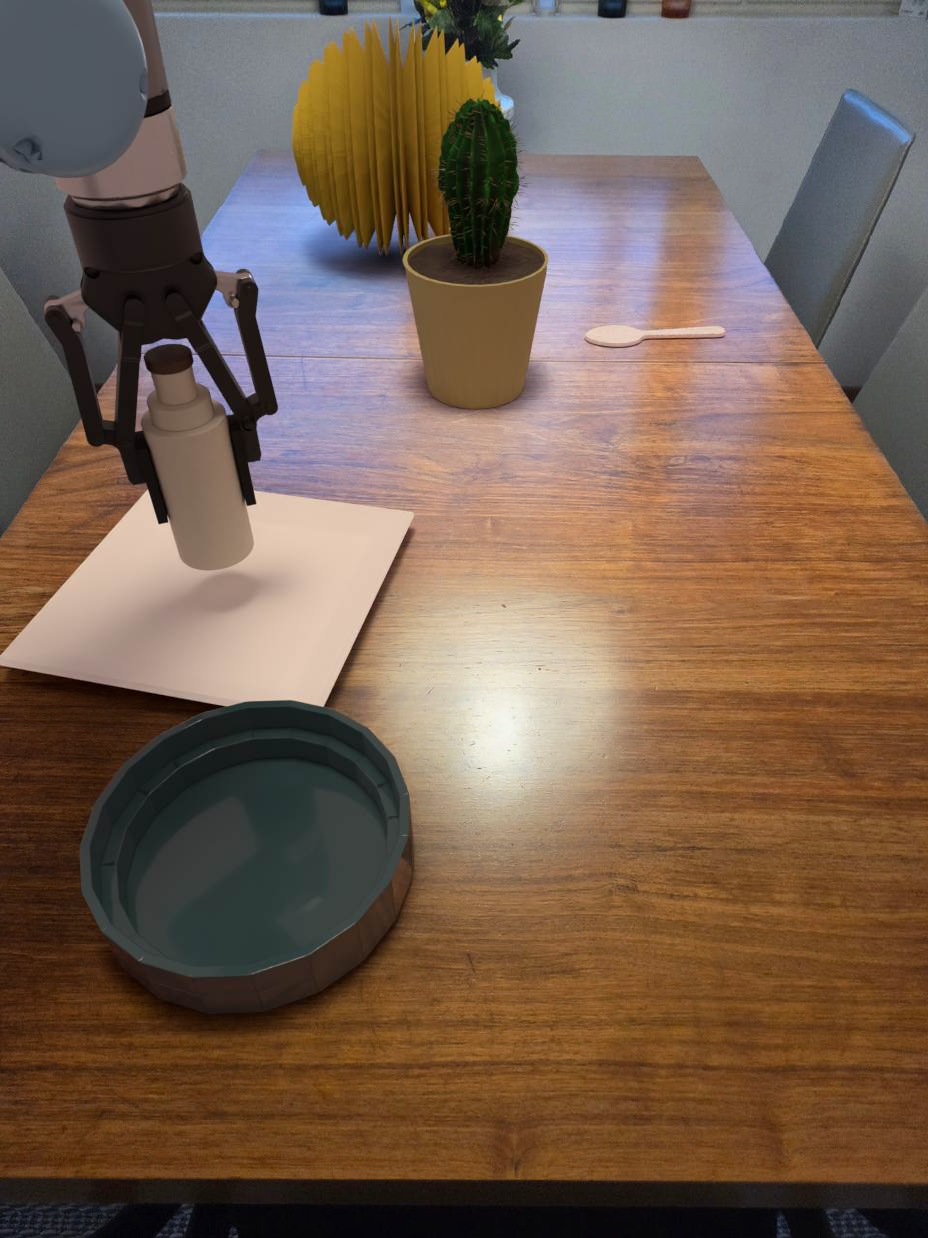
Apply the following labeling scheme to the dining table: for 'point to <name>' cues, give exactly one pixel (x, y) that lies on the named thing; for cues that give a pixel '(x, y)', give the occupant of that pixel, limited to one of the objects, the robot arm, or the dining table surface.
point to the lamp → (381, 132)
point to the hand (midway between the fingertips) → (205, 504)
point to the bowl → (249, 855)
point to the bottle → (195, 463)
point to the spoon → (645, 334)
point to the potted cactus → (476, 268)
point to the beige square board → (219, 606)
